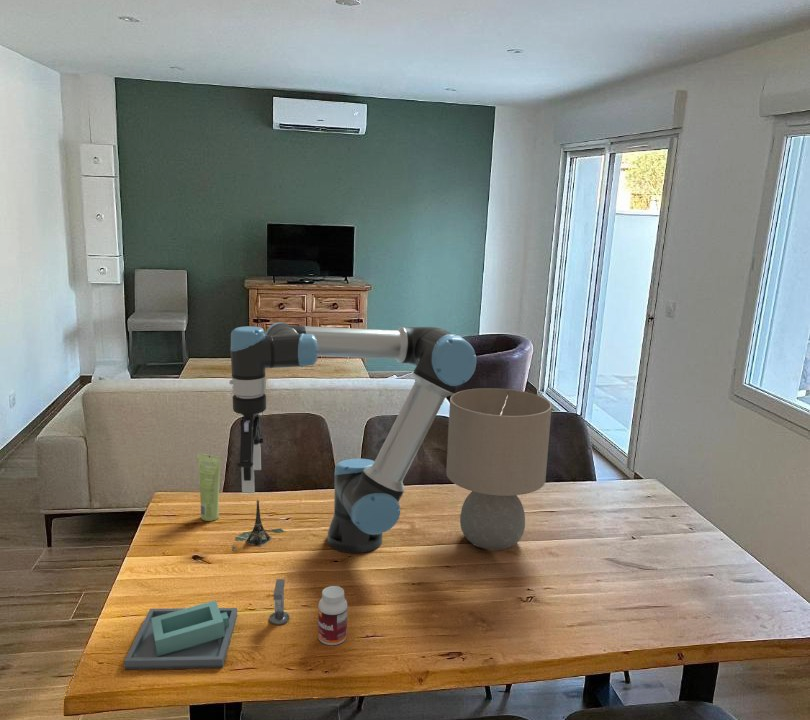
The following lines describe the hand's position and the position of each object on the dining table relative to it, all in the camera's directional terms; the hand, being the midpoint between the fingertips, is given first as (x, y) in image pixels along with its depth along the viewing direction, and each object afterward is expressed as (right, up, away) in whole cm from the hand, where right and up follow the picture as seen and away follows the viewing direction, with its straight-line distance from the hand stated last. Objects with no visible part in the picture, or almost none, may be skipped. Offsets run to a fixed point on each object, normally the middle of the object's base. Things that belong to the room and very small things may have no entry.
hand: (252, 480), depth 165 cm
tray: (-10, -31, -18) cm, 37 cm away
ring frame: (-9, -29, -18) cm, 36 cm away
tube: (-21, -18, +38) cm, 47 cm away
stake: (+8, -29, -9) cm, 32 cm away
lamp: (+60, -22, +30) cm, 71 cm away
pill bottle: (+21, -31, -15) cm, 40 cm away
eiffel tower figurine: (-4, -21, +27) cm, 35 cm away
